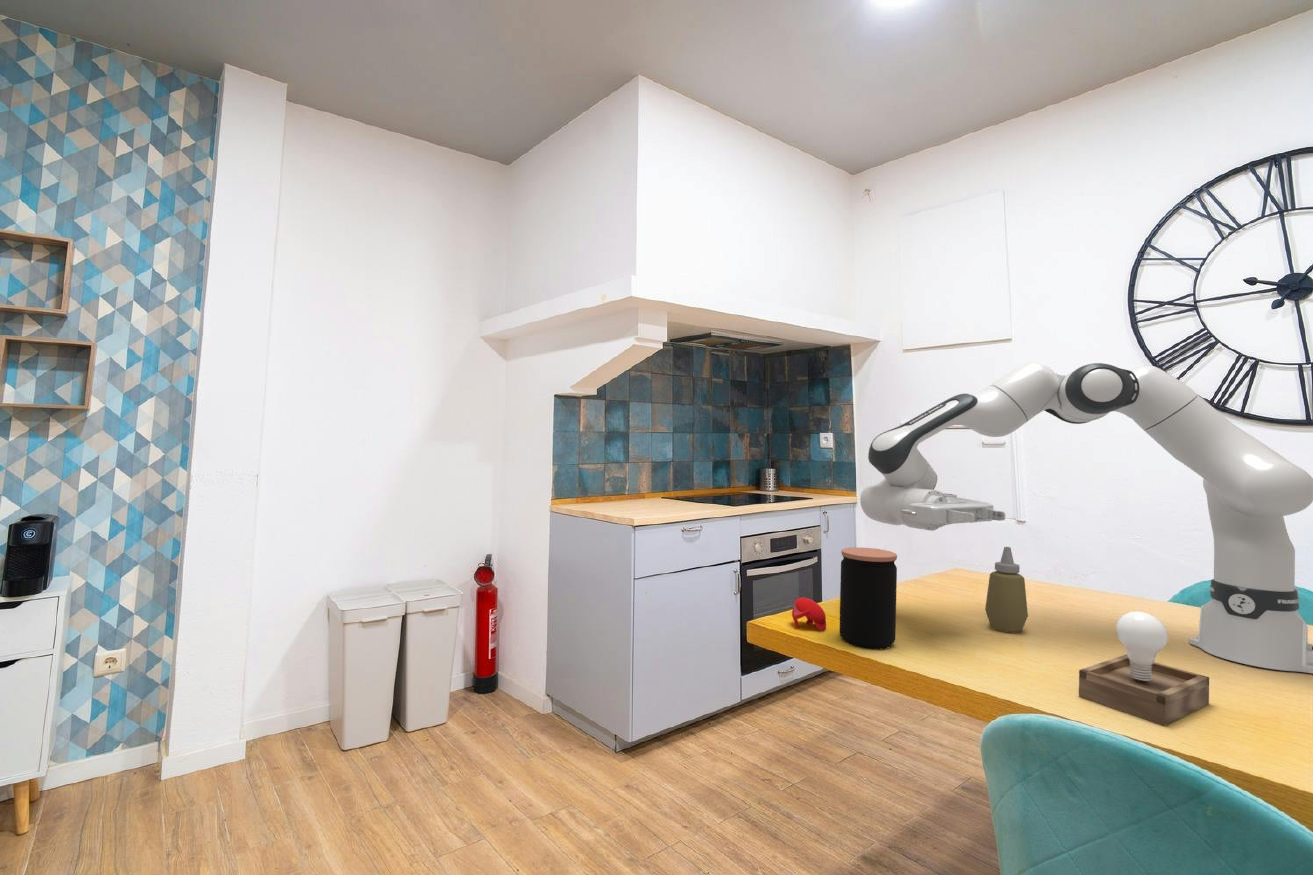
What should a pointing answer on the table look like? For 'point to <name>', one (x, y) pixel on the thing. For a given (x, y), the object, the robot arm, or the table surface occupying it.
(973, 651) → the table surface
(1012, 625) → the squeeze bottle
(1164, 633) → the lightbulb
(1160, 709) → the walnut tray
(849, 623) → the coffee jar
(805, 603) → the red animal figurine
